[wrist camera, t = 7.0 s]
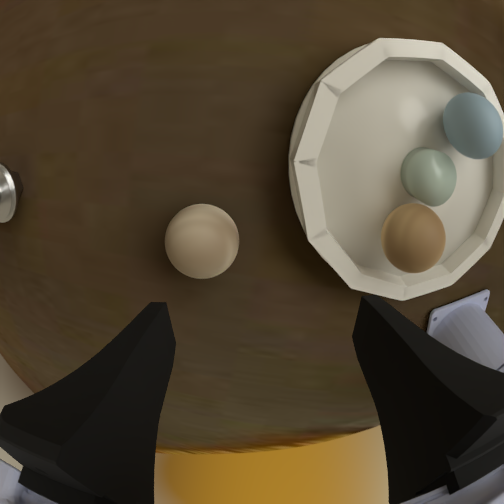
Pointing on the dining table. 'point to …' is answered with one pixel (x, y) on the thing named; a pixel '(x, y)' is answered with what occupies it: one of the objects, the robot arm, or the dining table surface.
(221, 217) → the bead birch
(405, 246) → the bead oak
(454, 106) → the bead blue
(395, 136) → the tray
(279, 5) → the dining table surface
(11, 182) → the screw
